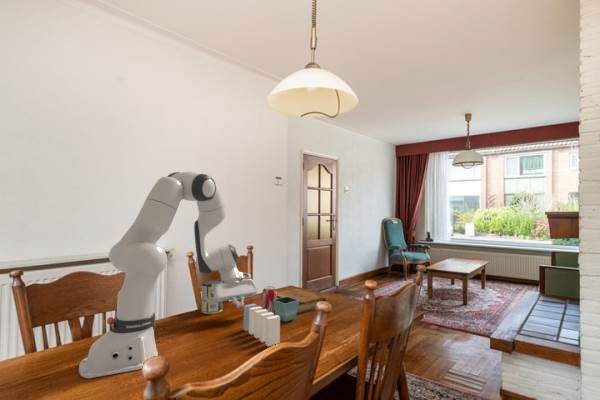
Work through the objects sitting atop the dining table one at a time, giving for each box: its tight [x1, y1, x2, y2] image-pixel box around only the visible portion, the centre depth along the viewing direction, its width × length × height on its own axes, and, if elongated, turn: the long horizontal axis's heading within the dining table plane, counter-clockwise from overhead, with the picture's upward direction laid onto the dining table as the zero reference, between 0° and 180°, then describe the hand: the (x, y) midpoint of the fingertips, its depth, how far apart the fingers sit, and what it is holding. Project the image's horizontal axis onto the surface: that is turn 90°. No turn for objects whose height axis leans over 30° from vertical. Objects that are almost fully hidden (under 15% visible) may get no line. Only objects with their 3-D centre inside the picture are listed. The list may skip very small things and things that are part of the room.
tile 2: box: [253, 309, 268, 339], centre depth 128 cm, size 5×2×10 cm, turn 126°
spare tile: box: [243, 303, 258, 332], centre depth 135 cm, size 5×2×10 cm, turn 126°
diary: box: [277, 288, 327, 315], centre depth 170 cm, size 23×19×6 cm
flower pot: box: [273, 297, 299, 323], centre depth 148 cm, size 9×9×9 cm
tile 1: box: [248, 305, 262, 336], centre depth 132 cm, size 5×2×10 cm, turn 126°
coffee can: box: [201, 279, 224, 315], centre depth 159 cm, size 10×10×14 cm
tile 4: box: [265, 314, 281, 347], centre depth 121 cm, size 5×2×10 cm, turn 126°
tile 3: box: [259, 312, 275, 343], centre depth 124 cm, size 5×2×10 cm, turn 126°
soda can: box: [261, 285, 278, 313], centre depth 158 cm, size 7×7×12 cm
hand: (240, 306), depth 143 cm, fingers closed
